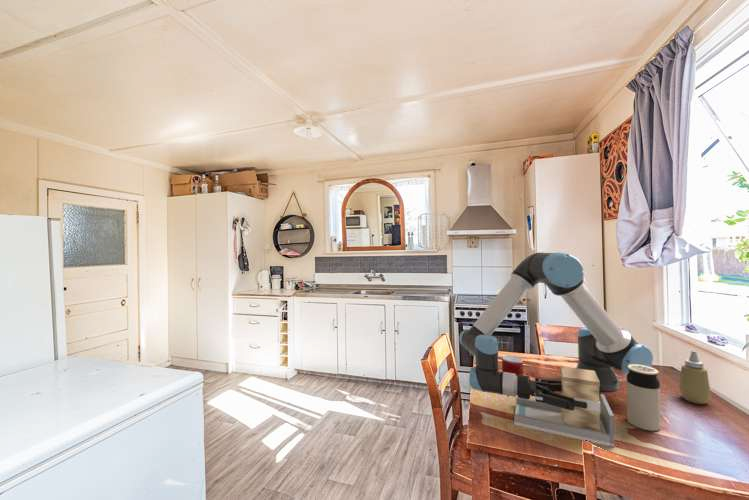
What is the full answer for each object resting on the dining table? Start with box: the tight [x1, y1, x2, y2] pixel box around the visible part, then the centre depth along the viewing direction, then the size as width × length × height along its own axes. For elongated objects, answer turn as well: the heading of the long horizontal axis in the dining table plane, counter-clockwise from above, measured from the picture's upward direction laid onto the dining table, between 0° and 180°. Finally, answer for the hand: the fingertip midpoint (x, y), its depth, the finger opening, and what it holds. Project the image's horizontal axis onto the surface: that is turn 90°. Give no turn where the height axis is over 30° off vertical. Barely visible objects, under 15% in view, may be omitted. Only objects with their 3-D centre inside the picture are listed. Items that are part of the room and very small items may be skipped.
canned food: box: [501, 354, 524, 376], centre depth 128 cm, size 8×8×11 cm
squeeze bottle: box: [678, 350, 711, 405], centre depth 113 cm, size 8×8×18 cm
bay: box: [513, 393, 615, 448], centre depth 100 cm, size 26×14×9 cm, turn 63°
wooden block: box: [560, 365, 600, 432], centre depth 97 cm, size 9×9×16 cm
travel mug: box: [626, 364, 661, 432], centre depth 98 cm, size 8×8×18 cm
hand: (596, 399), depth 95 cm, fingers closed on wooden block, 9 cm apart
